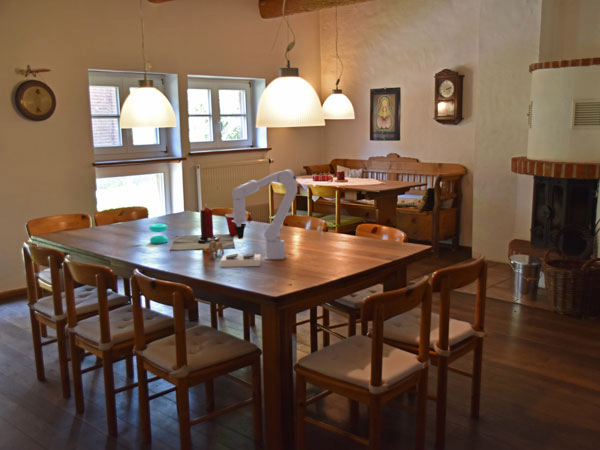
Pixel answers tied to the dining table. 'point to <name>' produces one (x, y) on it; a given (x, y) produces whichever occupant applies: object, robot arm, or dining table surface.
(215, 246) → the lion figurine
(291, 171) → the robot arm
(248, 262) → the beige switch box
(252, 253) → the rocker
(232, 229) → the plastic cup
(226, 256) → the rocker
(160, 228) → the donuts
